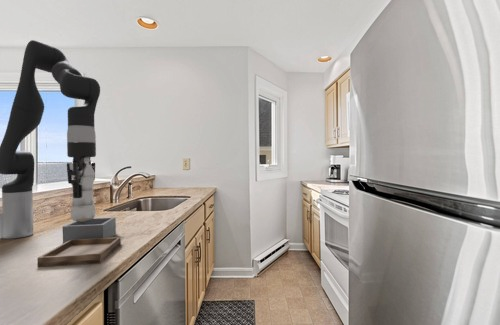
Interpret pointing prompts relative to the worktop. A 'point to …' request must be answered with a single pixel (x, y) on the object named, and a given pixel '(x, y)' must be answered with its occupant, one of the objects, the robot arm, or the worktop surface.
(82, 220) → the plastic bottle
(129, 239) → the worktop surface
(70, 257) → the tray
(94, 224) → the holder
